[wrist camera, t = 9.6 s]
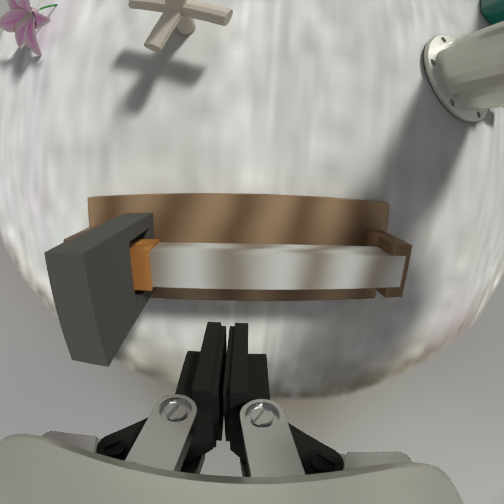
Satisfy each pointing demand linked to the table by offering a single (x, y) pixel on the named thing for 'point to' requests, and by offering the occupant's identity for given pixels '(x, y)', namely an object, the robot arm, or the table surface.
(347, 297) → the pipe stand
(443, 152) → the table surface
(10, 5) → the lily
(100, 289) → the dark grey tapered slab
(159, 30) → the pipe connector
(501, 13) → the teal bottle
